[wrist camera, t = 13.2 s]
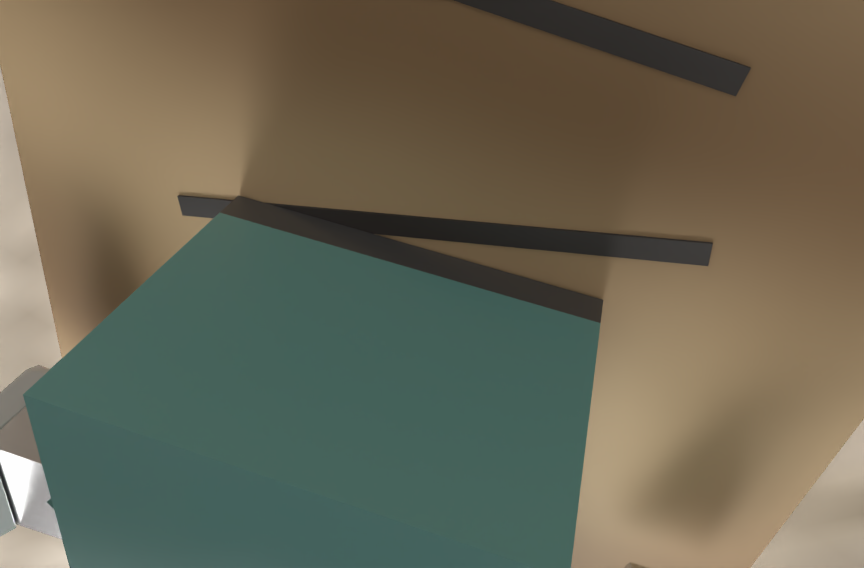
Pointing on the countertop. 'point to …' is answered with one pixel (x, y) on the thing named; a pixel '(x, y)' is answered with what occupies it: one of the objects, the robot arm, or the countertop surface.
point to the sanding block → (321, 408)
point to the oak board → (509, 201)
